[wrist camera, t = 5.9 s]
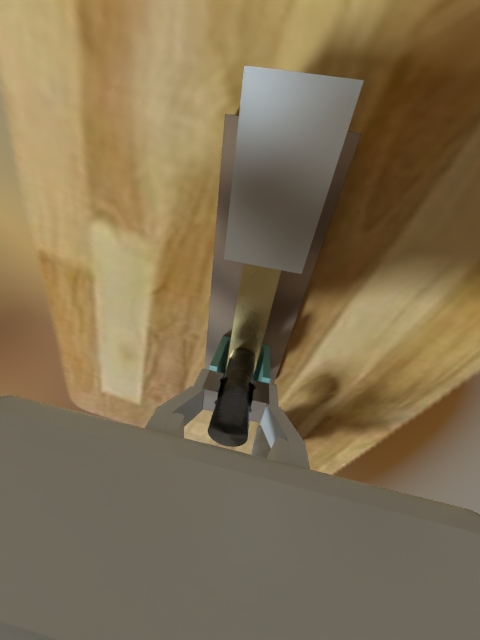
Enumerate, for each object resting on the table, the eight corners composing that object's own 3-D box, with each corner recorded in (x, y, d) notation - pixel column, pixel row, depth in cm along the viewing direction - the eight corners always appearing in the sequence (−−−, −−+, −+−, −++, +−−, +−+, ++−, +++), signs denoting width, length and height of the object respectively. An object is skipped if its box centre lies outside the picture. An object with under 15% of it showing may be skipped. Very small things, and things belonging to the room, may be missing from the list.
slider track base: (228, 123, 11) (198, 38, 6) (353, 141, 11) (425, 64, 6) (207, 366, 21) (189, 405, 16) (272, 380, 20) (273, 425, 15)
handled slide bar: (251, 232, 12) (224, 226, 4) (285, 238, 12) (317, 243, 4) (229, 362, 17) (201, 458, 10) (252, 368, 17) (241, 469, 10)
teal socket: (222, 335, 17) (209, 365, 13) (269, 345, 17) (270, 378, 13) (219, 365, 19) (206, 399, 15) (261, 374, 19) (259, 411, 15)
